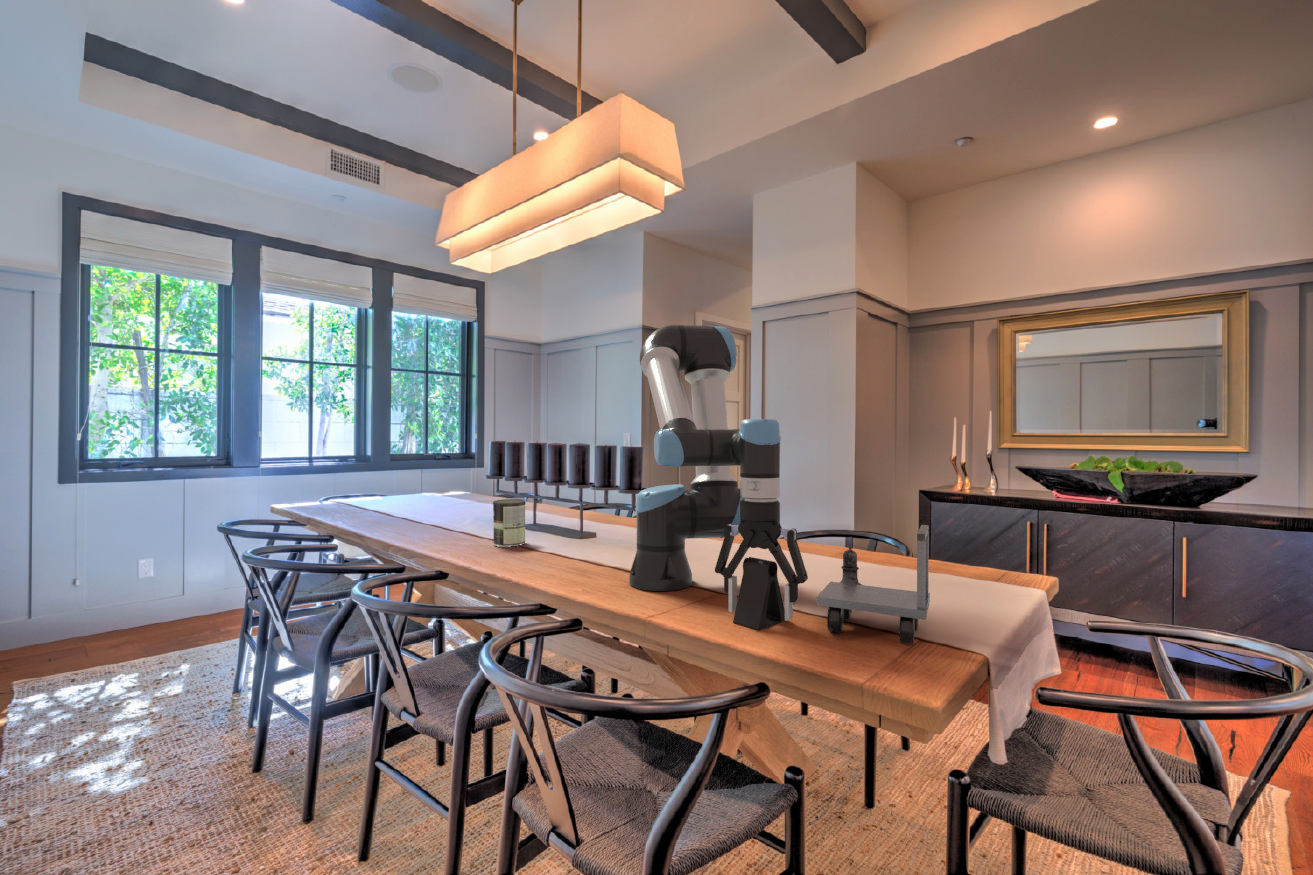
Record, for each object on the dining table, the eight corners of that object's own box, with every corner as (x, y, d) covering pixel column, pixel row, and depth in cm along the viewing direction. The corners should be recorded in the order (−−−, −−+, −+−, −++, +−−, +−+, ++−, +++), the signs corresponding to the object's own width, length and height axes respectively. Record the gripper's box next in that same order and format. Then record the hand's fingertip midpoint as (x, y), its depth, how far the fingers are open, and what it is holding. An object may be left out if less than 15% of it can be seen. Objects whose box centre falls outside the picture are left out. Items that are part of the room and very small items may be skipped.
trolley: (816, 633, 106) (816, 527, 105) (831, 613, 117) (831, 517, 117) (925, 650, 97) (925, 535, 97) (930, 627, 109) (930, 524, 108)
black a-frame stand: (758, 631, 107) (758, 565, 107) (732, 623, 111) (732, 560, 111) (786, 620, 113) (786, 558, 113) (761, 613, 117) (761, 553, 117)
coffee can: (487, 547, 185) (487, 502, 185) (500, 540, 195) (500, 498, 195) (518, 547, 183) (518, 503, 183) (530, 541, 194) (530, 499, 193)
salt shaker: (829, 600, 126) (829, 544, 126) (851, 596, 128) (851, 542, 128) (848, 607, 121) (848, 549, 120) (870, 604, 123) (870, 547, 123)
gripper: (697, 498, 114) (697, 611, 114) (815, 504, 103) (815, 629, 103) (712, 494, 121) (712, 601, 121) (825, 500, 110) (825, 617, 110)
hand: (760, 614), depth 112 cm, fingers open, 10 cm apart
